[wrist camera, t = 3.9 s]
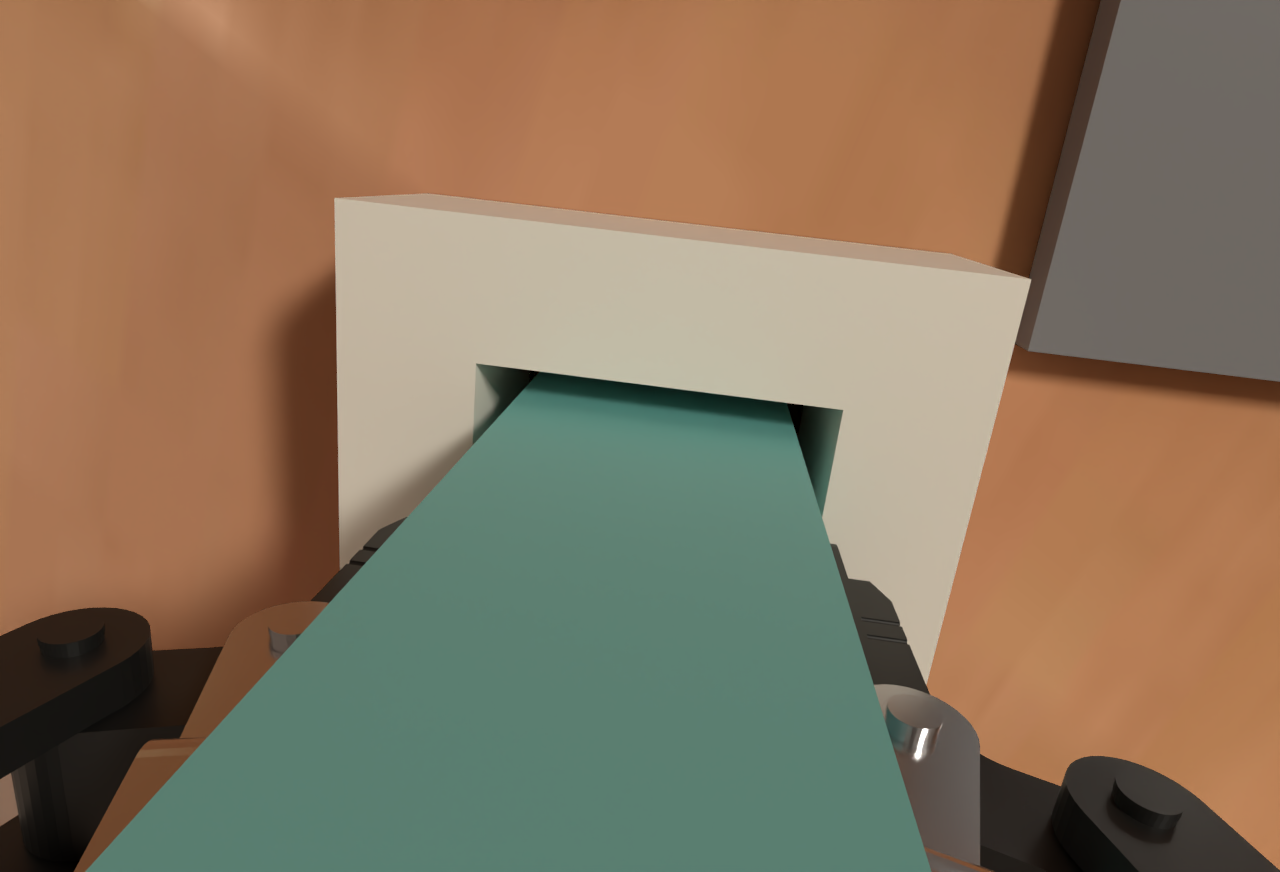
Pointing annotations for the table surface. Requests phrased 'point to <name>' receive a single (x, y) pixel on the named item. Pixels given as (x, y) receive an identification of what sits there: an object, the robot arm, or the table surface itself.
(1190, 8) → the coaster
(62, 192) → the table surface
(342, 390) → the pocket block
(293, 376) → the table surface
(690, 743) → the block
